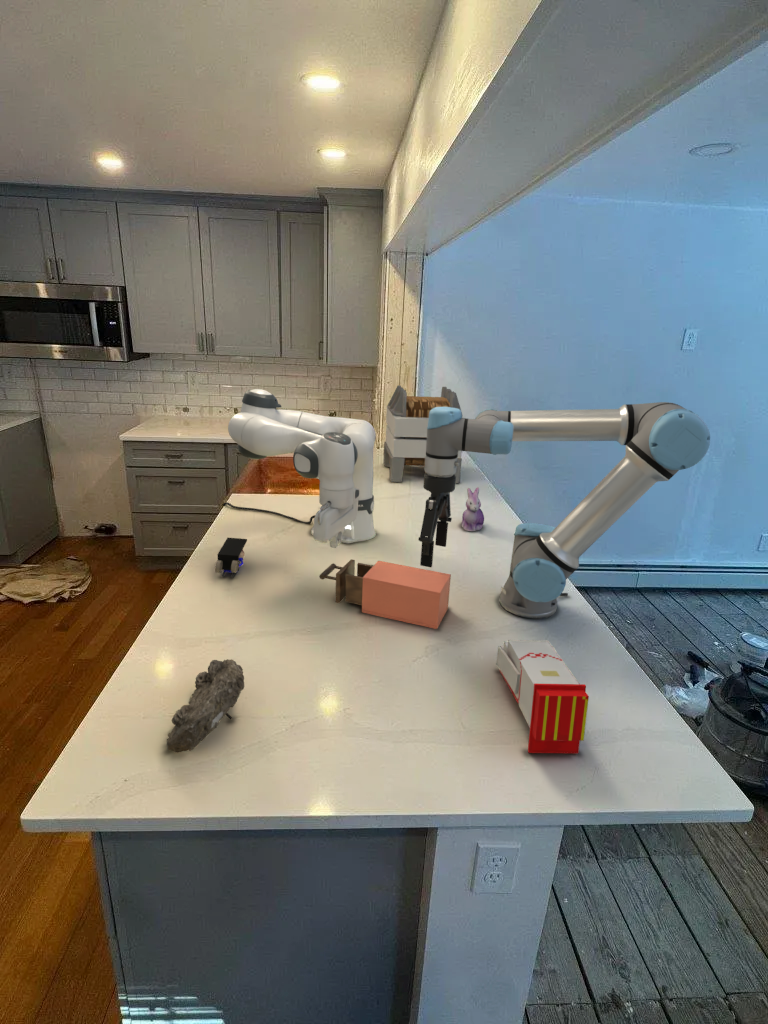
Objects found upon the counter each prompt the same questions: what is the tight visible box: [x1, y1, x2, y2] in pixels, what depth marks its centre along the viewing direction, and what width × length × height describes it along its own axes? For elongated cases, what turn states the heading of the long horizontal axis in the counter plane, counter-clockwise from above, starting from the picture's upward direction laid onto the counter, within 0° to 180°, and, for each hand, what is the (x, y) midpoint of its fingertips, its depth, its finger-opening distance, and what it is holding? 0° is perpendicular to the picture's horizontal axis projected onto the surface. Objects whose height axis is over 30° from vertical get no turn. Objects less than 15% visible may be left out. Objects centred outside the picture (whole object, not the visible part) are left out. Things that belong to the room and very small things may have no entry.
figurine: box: [461, 486, 485, 532], centre depth 206 cm, size 9×10×15 cm
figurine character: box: [214, 537, 248, 578], centre depth 166 cm, size 7×8×15 cm
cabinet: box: [361, 560, 452, 630], centre depth 148 cm, size 20×11×10 cm, turn 70°
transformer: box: [383, 384, 463, 484], centre depth 268 cm, size 34×33×41 cm
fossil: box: [166, 658, 245, 754], centre depth 106 cm, size 22×10×15 cm
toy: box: [495, 639, 590, 754], centre depth 114 cm, size 12×13×30 cm
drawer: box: [319, 559, 374, 606], centre depth 151 cm, size 24×10×8 cm, turn 70°
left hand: (335, 545), depth 151 cm, fingers closed
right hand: (433, 555), depth 142 cm, fingers open, 13 cm apart
